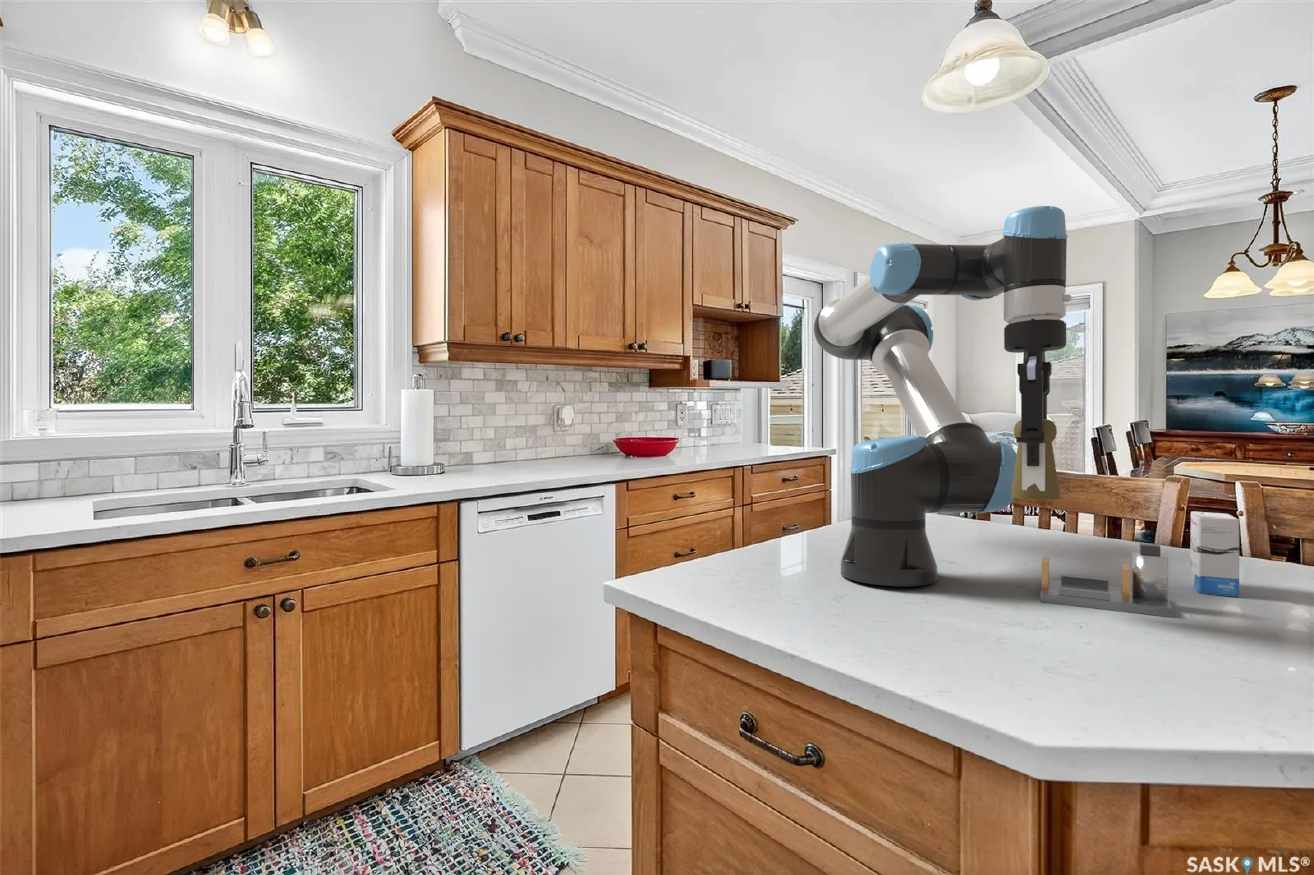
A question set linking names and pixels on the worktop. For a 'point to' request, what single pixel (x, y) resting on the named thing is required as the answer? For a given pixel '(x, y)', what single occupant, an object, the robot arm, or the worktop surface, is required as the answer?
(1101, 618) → the worktop surface
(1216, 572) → the ink box
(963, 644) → the worktop surface
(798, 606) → the worktop surface
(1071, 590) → the grey stand
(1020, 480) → the cork
